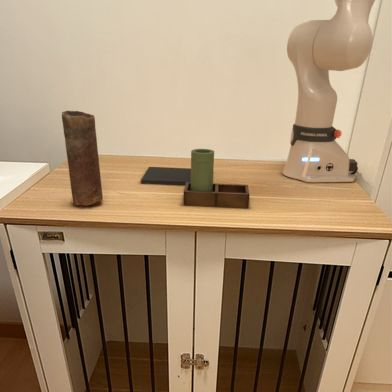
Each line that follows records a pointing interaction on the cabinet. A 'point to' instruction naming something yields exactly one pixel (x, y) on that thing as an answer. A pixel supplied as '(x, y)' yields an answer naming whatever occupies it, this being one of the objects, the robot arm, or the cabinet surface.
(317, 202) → the cabinet surface
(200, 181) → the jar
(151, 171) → the mat
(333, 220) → the cabinet surface
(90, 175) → the weathered brown tube
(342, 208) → the cabinet surface
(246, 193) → the divided wooden tray
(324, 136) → the robot arm
